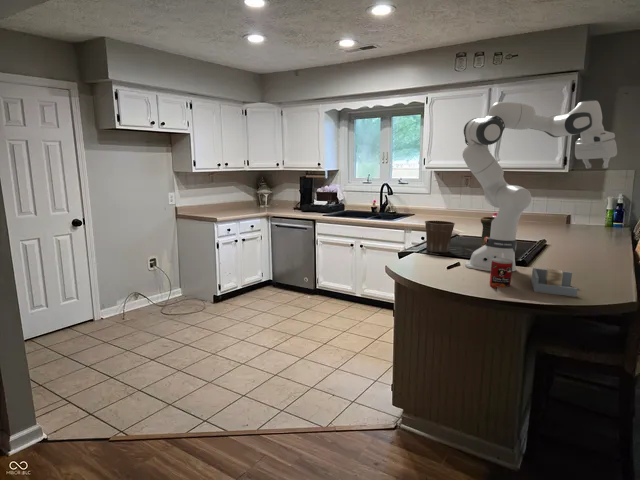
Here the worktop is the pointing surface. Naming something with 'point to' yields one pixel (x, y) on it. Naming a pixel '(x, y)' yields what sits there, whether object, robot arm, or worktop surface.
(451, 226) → the plant pot
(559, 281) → the birch block
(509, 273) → the canned food
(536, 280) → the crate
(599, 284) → the worktop surface
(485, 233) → the vessel
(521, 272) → the worktop surface
